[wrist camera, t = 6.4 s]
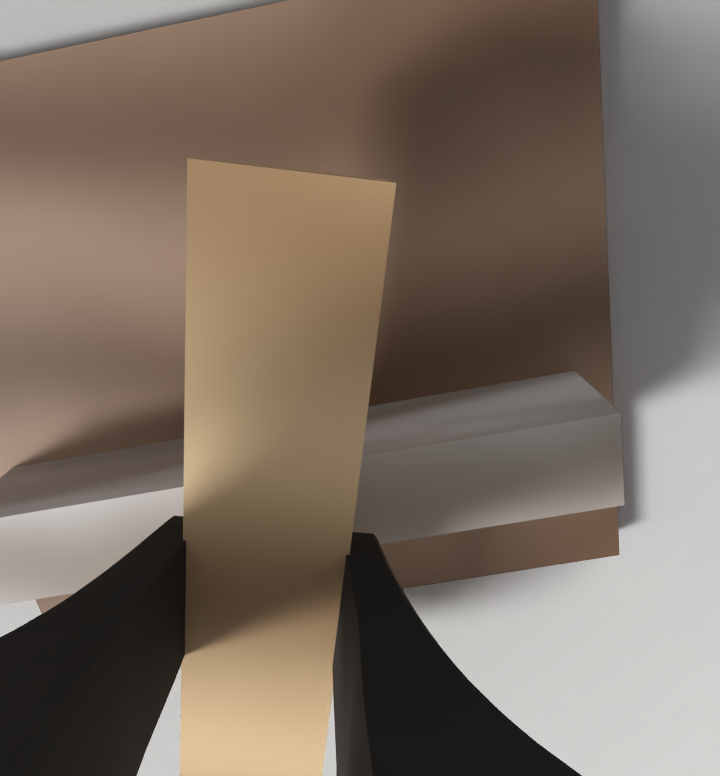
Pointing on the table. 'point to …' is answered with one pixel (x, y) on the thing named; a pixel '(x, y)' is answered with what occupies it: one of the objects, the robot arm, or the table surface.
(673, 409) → the table surface
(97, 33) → the table surface
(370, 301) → the oak bar
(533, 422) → the stand
